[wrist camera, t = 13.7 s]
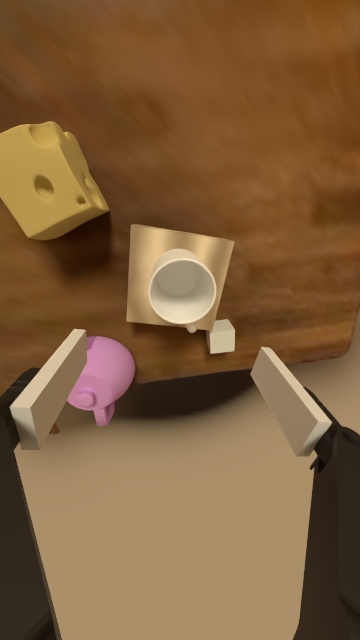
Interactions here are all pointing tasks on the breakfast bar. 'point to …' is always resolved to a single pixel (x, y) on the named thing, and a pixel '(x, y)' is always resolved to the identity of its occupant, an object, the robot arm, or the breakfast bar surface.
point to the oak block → (146, 252)
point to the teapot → (103, 377)
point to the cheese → (47, 181)
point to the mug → (181, 288)
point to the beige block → (221, 337)
